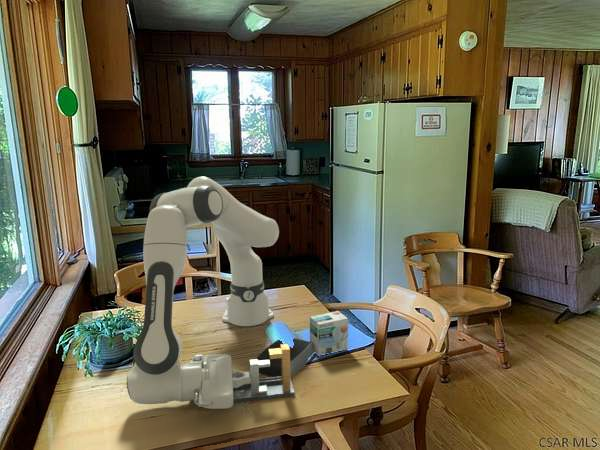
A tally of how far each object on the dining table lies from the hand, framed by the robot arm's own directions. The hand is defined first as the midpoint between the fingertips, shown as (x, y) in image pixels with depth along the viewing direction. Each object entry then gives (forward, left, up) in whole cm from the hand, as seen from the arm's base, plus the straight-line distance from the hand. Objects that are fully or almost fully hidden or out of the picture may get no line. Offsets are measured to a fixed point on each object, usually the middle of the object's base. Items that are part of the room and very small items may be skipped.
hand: (250, 377), depth 116 cm
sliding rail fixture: (-2, -1, -6) cm, 6 cm away
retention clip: (0, +3, -4) cm, 5 cm away
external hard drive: (-17, +12, -6) cm, 21 cm away
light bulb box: (-21, +26, -6) cm, 34 cm away
